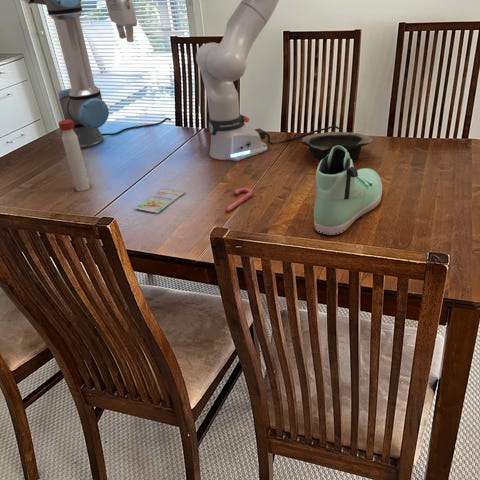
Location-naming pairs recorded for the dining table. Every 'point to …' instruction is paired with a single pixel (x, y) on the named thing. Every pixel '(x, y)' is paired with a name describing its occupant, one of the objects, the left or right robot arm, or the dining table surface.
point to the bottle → (75, 160)
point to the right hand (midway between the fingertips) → (126, 40)
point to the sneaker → (343, 192)
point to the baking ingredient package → (159, 200)
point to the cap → (66, 125)
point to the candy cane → (236, 192)
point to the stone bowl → (336, 143)
